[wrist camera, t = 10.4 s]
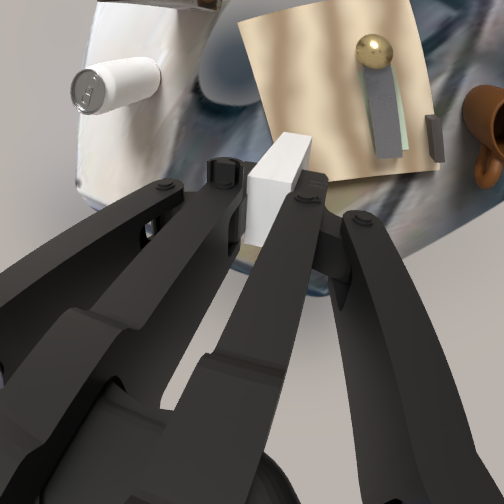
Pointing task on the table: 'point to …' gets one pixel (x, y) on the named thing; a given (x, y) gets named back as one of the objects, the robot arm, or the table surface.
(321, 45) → the latch board
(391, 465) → the robot arm
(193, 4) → the coffee box
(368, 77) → the swing bar
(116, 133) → the table surface
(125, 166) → the table surface
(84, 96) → the can
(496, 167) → the mug
